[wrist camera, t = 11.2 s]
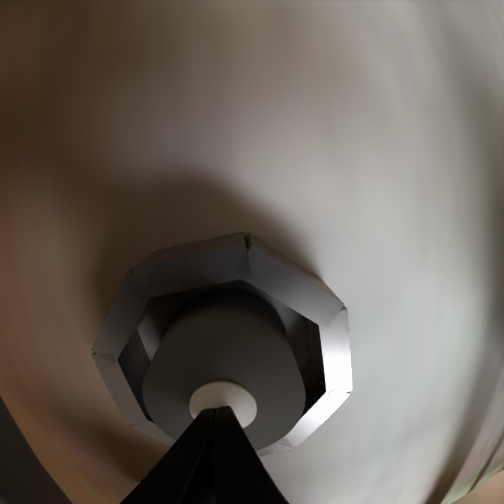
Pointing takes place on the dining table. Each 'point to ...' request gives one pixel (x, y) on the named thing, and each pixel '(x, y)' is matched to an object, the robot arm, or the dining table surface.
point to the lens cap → (226, 367)
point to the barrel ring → (215, 272)
